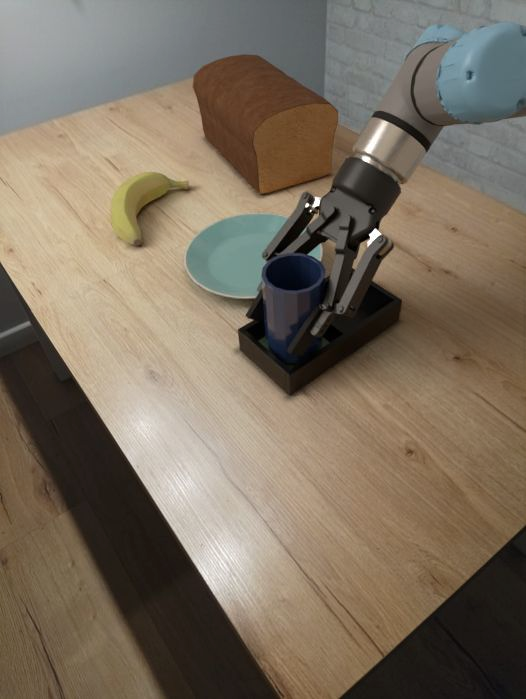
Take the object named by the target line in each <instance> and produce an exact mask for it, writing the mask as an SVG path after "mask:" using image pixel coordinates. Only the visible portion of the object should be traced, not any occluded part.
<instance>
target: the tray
mask: <svg viewBox="0 0 526 699" xmlns="http://www.w3.org/2000/svg"><path fill="white" fill-rule="evenodd" d="M355 269H356V268H353V267H352V270H351V274H350V278H349V282H350V280H351V278H352V276H353V274H354V271H355ZM329 278H330V274H329V275H327V276H325V290H324V298H325V294H326V290H327V286H328V282H329ZM349 282H348V284H349ZM403 301H404V300H403V299H401V298H400V297H398V296H397V295H395V294H393V293H392V292H391V291H390V290H387V289H386V288H385V287H383V286H381V285H380V284H378V283H376V282H375V281H373V280H372V282H371V284H370V286H369V288H368V290H367V292H366V294H365V296H364V298H363V300H362V302H361V304H360V306H359V308H358V310H357V312H356V314H355V316H354V317H352V318H348V317H345V316H340V315H339V316H336V317H335V318H334V319H333V321H332V322H331V324H330V325H329V327H328V329H327V330H326V332H325V333H324V335H323V336H322V346H321V349H320V350H318V351H317V352H315V353H314V354H312V355H311V356H309V357H308V358H306V359H305V360H303V361H302V362H300V363H286V362H283V361H281V360H279V359H278V358H277V357H276V356H275V355H274V354H273V353H271V352H270V351H269V350H268V349H267V344H266V336H265V322H264V318H263V320H262V322H259V321H255V320H251V321H249V322H248V323H246V324H245V325H243V326H241V327H239V328H237V335H238V336H237V337H238V343H239V344H238V345H239V351H240V352H241V353H243V355H244V356H245V357H247V358H248V359H249V360H250V361H251V362H252V363H253V364H254V365H255V366H256V367H257V368H259V370H261V371H262V372H263V373H264V374H265V375H266V376H267V377H269V379H271V380H272V381H273V382H274V383H275V384H276V385H277V386H278V387H279V388H280V389H281V390H282V391H284V393H286V395H288V396H289V397H291V396H292V395H294V394H296V393H297V392H299V391H301V389H303V388H304V387H306V386H307V385H309V384H310V383H312V382H313V381H315V380H316V379H317V378H319V377H320V376H321V375H323V374H324V373H326V372H328V371H329V370H330V369H332V368H333V367H335V366H336V365H338V364H339V363H341V362H342V361H344V360H345V359H346V358H348V357H350V356H351V355H352V354H354V353H355V352H356V351H358V350H360V349H361V348H363V347H364V346H365V345H367V344H368V343H370V342H371V341H373V340H375V338H377V337H379V336H380V335H381V334H383V333H385V332H386V331H387V330H389V329H390V328H392V327H393V326H394V325H396V324H397V323H398V322H399V321H400V317H401V311H402V306H403Z"/></svg>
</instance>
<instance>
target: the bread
mask: <svg viewBox="0 0 526 699" xmlns="http://www.w3.org/2000/svg"><path fill="white" fill-rule="evenodd" d="M192 89H193V91H194V94H195V97H196V101H197V106H198V109H199V113H200V118H201V123H202V130H203V134H204V137H205V138H206V139H207V141H208V142H209V143H210V144H211V145H212V146H213V147H214V148H215V149H216V150H217V151H218V152H219V153H220V155H221V156H222V157H223V158H224V159H225V160H226V161H227V162H228V163H229V164H230V165H231V166H232V167H233V169H234V170H235V171H236V172H237V173H238V174H239V175H240V176H241V177H242V179H244V180H245V181H246V182H247V184H249V185H250V186H251V187H252V189H254V190H255V192H257V193H258V194H259V195H265V194H270V193H274V192H278V191H280V190H283V189H287V188H290V187H293V186H298V185H300V184H304V183H307V182H310V181H313V180H317V179H320V178H321V179H322V178H323V177H326V176H329V175H330V174H331V172H332V160H333V152H334V151H333V149H334V140H335V133H336V130H337V128H338V124H339V110H338V109H337V108H336V107H335V106H334V105H333V104H332V103H331V102H329V101H328V100H327V99H326V98H325V97H323V96H322V95H319V94H318V93H316V92H315V91H314V90H312V89H311V88H309V87H307V86H305V85H303V84H302V83H300V82H299V81H297V80H296V79H294V78H293V77H291V76H289V75H287V74H286V73H285V72H284V71H283V70H281V69H280V68H278V67H277V66H275V65H274V64H272V63H271V62H269V61H268V60H267V59H265V58H263V57H261V55H258V54H248V53H247V54H235V55H230V56H226V57H223V58H219V59H215V60H213V61H211V62H209V63H207V64H205V65H202V66H201V68H200V69H198V70H197V71H196V72H195V73H194V74H193V80H192Z"/></svg>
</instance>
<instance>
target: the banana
mask: <svg viewBox="0 0 526 699" xmlns="http://www.w3.org/2000/svg"><path fill="white" fill-rule="evenodd" d="M189 183H190V180H184V181H183V180H182V181H177V180H174V179H172V178H169V177H168V176H167V175H165V174H163V173H161V172H156V171H144V172H141V173H138V174H135V175H133V176H131V177H129V178H128V179H126V180H124V181H123V182H122V183H120V185H119V186H118V187H117V188H116V189H115V191H114V193H113V195H112V197H111V201H110V224H111V226H112V229H113V230H114V233H116V235H117V236H118V237H119V238H120V239H121V240H123V241H124V242H125V243H127V244H130V245H132V246H135V247H136V246H137V247H139V246H140V245H142V243H143V236H142V231H141V228H140V226H139V223H138V220H137V216H138V214H139V213H140V211H141V209H142V208H143V207H144V206H146V205H147V204H149V203H150V202H152V201H154V200H156V199H158V198H160V197H162V196H163V195H165V194H166V193H167V192H168V191H169V190H170V189H174V188H179V189H184V190H186V191H188V190H189Z"/></svg>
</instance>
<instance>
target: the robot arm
mask: <svg viewBox="0 0 526 699" xmlns="http://www.w3.org/2000/svg"><path fill="white" fill-rule="evenodd" d="M523 117H526V26H525V25H523V24H520V23H518V22H513V21H503V22H502V21H501V22H498V23H495V24H492V25H481V26H478V27H476V28H474V29H472V30H471V31H469V32H466V31H465V30H464V29H462V28H459V26H455V25H452V24H445V25H444V24H443V23H435V24H432V25H429V26H428V27H427V28H426V29H424V31H423V32H422V33H421V35H420V36H419V38H418V40H417V41H416V43H415V44H414V46H413V47H411V48H410V49H409V50H408V52H407V54H406V55H405V58H404V60H403V63H402V65H401V66H400V68H399V70H398V72H397V73H396V75H395V76H394V78H393V80H392V81H391V83H390V85H389V87H388V88H387V89H386V91H385V93H384V95H383V97H382V98H381V100H380V102H379V103H378V105H377V107H376V108H375V110H374V112H373V114H372V115H371V117H370V118H368V121H367V122H366V124H365V125H364V127H363V129H362V131H361V132H360V133H359V135H358V137H357V138H356V140H355V142H354V143H353V145H352V146H351V153H352V155H353V156H352V155H351V156H350V155H349V156H348V157H345V159H344V160H343V162H342V164H341V165H340V167H339V169H338V171H337V172H336V174H335V175H334V177H333V179H332V181H331V188H330V189H329V191H328V192H327V193H326V194H324V195H323V196H322V197H320V196H315V195H313V194H311V193H310V192H309V191H303V192H302V193H301V194H300V198H299V200H298V203H297V205H296V207H295V209H294V210H293V211H292V213H291V214H290V215H289V216H288V217H289V218H288V220H287V221H286V222H285V224H284V225H283V226H282V228H281V229H280V230H279V232H278V233H277V234H276V236H275V237H274V238H273V240H272V241H271V242H270V244H269V245H268V246H267V248H266V249H265V250H264V252H263V253H262V258H263V259H265V260H266V262H268V261H269V260H270V259H272V258H274V257H276V256H278V255H282V254H287V253H303V254H306V255H307V254H309V253H310V252H311V251H312V250H313V249H315V248H316V247H317V246H318V245H319V244H321V243H322V244H325V243H326V242H327V241H328V240H329V241H331V242H333V243H334V244H335V246H334V253H335V255H334V259H333V263H332V267H331V271H330V274H329V275H330V278H329V282H328V286H327V290H326V294H325V298H324V302H323V304H319V306H317V305H315V306H314V308H313V310H312V311H311V313H310V314H309V316H308V317H307V319H306V320H305V322H304V324H303V325H302V327H301V328H300V330H299V331H298V333H297V335H296V336H295V338H294V339H293V341H292V342H291V344H290V345H289V347H288V349H287V350H286V351H287V352H289V353H290V354H293V355H297V356H301V357H302V356H303V355H304V353H305V352H306V350H307V349H308V347H309V346H310V344H311V343H312V341H313V340H314V338H315V336H317V337H321V336H323V335H324V333H325V332H326V330H327V329H328V327H329V325H330V324H331V322H332V321H333V319H334V318H335V317H336V316H339V315H340V316H345V317H348V318H352V317H354V316H355V314H356V312H357V310H358V308H359V306H360V304H361V302H362V300H363V298H364V296H365V294H366V292H367V290H368V288H369V286H370V284H371V282H372V281H373V280H374V278H375V276H376V274H377V272H378V269H379V267H380V266H381V263H382V261H384V259H385V258H386V257H387V256H388V255H389V254H390V253H391V252H392V251H393V250H394V248H395V243H394V241H392V240H391V239H389V238H388V237H387V236H386V235H384V234H383V233H381V232H380V226H381V222H382V219H384V217H385V216H387V215H388V214H389V212H390V211H391V209H392V208H393V206H394V205H395V203H396V202H397V200H398V198H399V197H400V195H401V193H402V188H401V185H405V184H407V183H408V182H409V180H410V179H411V178H412V176H413V174H414V173H415V172H416V170H417V168H418V167H419V165H420V164H421V162H422V161H423V159H424V158H425V156H426V154H427V153H428V152H429V150H430V149H431V147H432V145H433V144H434V142H435V141H436V139H437V138H438V136H439V135H440V133H441V132H442V130H443V129H444V128H445V127H448V126H455V125H456V126H457V125H474V126H476V125H477V126H479V125H483V124H485V123H487V124H491V123H497V122H500V121H502V120H509V119H516V118H523ZM315 215H318V216H317V217H316V218H315V219H313V218H314V216H315ZM307 225H308V226H307ZM306 227H307V228H306ZM305 228H306V231H305V232H304V233H303V234H302V235H300V234H301V233H302V232H303V231H304V229H305ZM366 241H367V247H366V248H365V250H364V251H363V253H362V255H361V257H360V259H359V261H358V263H357V265H356V267H355V268H354V269H355V271H354V274H353V276H352V278H351V280H350V282H349V278H350V274H351V270H352V268H353V266H354V262H355V260H357V259H358V255H359V251H360V247H361V244H362V243H364V242H366ZM348 282H349V284H348ZM257 291H258V292H259V293H258V295H257V297H256V298H255V299H253V302H252V303H251V304H250V307H249V308H248V310H247V311H246V313H245V315H244V316H245V317H246V318H248V319H249V320H251V321H253V320H255V321H259V322H262V320H263V318H264V307H263V293H262V281H261V283H260V284H259V286H258V288H257Z"/></svg>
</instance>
